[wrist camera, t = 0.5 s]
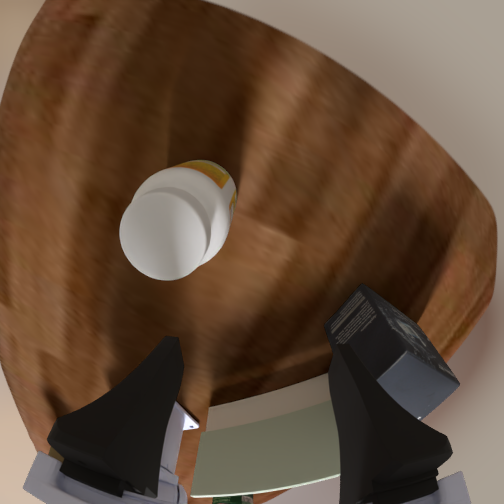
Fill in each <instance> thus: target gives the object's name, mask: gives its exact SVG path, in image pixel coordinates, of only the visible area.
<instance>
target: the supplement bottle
mask: <svg viewBox="0 0 504 504" xmlns="http://www.w3.org/2000/svg"><path fill="white" fill-rule="evenodd" d="M236 201H237V192H236V187H235V184H234V182H233V179H232V178H231V176H230V175H229V173H228V172H227V171H226V170H225V169H224V168H222V167H221V166H219V165H218V164H216V163H214V162H211V161H207V160H193V161H188V162H185V163H182V164H179V165H176V166H173V167H170V168H166V169H164V170H161V171H159V172H157V173H155V174H154V175H152V176H151V177H149V178H148V179H147V180H146V181H144V183H143V184H142V185H141V186H140V187H139V189H138V190H137V192H136V193H135V195H134V197H133V200H132V203H131V204H130V205H129V206H128V207H127V209H126V210H125V212H124V214H123V217H122V219H121V223H120V241H121V246H122V249H123V251H124V253H125V255H126V257H127V258H128V260H129V261H130V262H131V264H132V265H133V266H134V267H135V268H136V269H138V270H139V271H140V272H141V273H143V274H145V275H147V276H149V277H151V278H154V279H158V280H176V279H180V278H182V277H185V276H187V275H188V274H190V273H191V272H193V271H194V270H195V269H196V268H197V267H198V266H200V265H202V264H204V263H206V262H207V261H209V260H210V259H211V258H212V257H213V256H214V255H216V253H217V252H218V251H219V250H220V249H221V247H222V245H223V244H224V242H225V240H226V237H227V235H228V232H229V228H230V224H231V221H232V217H233V214H234V211H235V207H236Z"/></svg>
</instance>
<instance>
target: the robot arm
mask: <svg viewBox="0 0 504 504" xmlns="http://www.w3.org/2000/svg"><path fill="white" fill-rule="evenodd" d="M183 371H184V363H183V358H182V353H181V348H180V343H179V338H178V337H171V336H165V337H164V338H163V339H162V341H161V342H160V343H159V344H158V345H157V346H156V347H155V349H154V350H153V351H152V352H151V353H150V354H149V355H148V356H147V357H146V358H145V360H144V361H143V362H142V363H141V364H140V365H139V366H138V367H137V368H136V369H135V370H134V371H133V372H132V373H130V374H129V375H128V376H127V377H126V378H125V379H124V380H123V381H122V382H120V383H119V384H118V385H117V386H115V387H114V388H113V389H112V390H110V391H109V392H107V393H106V394H104V395H103V396H102V397H100V398H98V399H97V400H95V401H94V402H92V403H90V404H88V405H86V406H85V407H83V408H81V409H79V410H76V411H74V412H72V413H69V414H67V415H64V416H62V417H59V418H57V420H56V422H55V423H54V425H53V427H52V429H51V431H50V433H49V436H48V438H47V441H48V443H49V444H50V445H51V447H52V448H54V449H55V450H56V451H57V452H58V453H59V454H60V455H61V456H62V457H63V458H64V460H63V463H62V462H60V461H59V460H57V459H55V458H53V457H51V456H49V455H47V454H45V453H43V452H41V451H38V453H37V456H36V458H35V460H34V462H33V465H32V467H31V469H30V471H29V474H28V476H27V478H26V481H25V483H24V486H23V489H24V490H26V491H27V492H29V493H30V494H32V495H33V496H35V497H37V498H38V499H40V500H41V501H43V502H45V503H46V504H187V494H186V491H185V490H184V488H183V486H182V485H181V484H178V478H179V477H178V476H176V475H174V473H175V468H176V463H177V458H178V453H179V448H180V443H181V438H182V433H183V430H188V429H194V428H198V427H199V424H198V423H197V422H196V421H195V420H194V419H193V418H192V417H191V416H190V415H189V414H188V413H187V412H186V411H185V410H184V409H183V408H182V407H181V406H180V405H179V404H178V403H177V402H176V398H177V395H178V392H179V389H180V386H181V381H182V376H183ZM328 380H329V391H330V396H331V401H332V406H333V411H334V415H335V420H336V425H337V430H338V437H339V450H340V501H339V504H471V501H470V497H469V494H468V490H467V487H466V483H465V480H464V476H463V473H462V471H459V472H457V473H455V474H452V475H450V476H447V477H445V478H442V479H440V480H438V481H437V480H436V476H437V475H438V470H437V468H438V467H439V466H441V465H442V464H443V463H444V462H445V461H447V460H448V459H449V458H450V457H451V455H452V453H453V452H452V448H451V445H450V442H449V440H448V438H447V436H446V435H444V434H442V433H440V432H438V431H436V430H434V429H433V428H431V427H429V426H428V425H426V424H424V423H423V422H421V421H420V420H418V419H417V418H416V417H414V416H413V415H412V414H410V413H409V412H408V411H407V410H405V409H404V408H403V407H402V406H401V405H399V404H398V403H397V402H396V401H395V400H394V399H393V398H392V397H391V396H390V395H389V394H388V393H387V392H386V391H385V390H384V389H383V387H382V386H381V385H380V384H379V383H378V382H377V380H376V379H375V378H374V377H373V375H372V374H371V373H370V372H369V370H368V369H367V368H366V366H365V365H364V364H363V362H362V361H361V360H360V358H359V357H358V355H357V354H356V353H355V351H354V350H353V348H352V347H351V345H350V344H336V347H335V351H334V354H333V357H332V361H331V364H330V368H329V371H328Z"/></svg>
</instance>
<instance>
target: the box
mask: <svg viewBox="0 0 504 504" xmlns="http://www.w3.org/2000/svg"><path fill="white" fill-rule="evenodd" d="M324 328H325V331H326V334H327V337H328V340H329V342H330V345H331V348H332V352H333V354H334V351H335V347H336V344H350V345H351V347H352V348H353V350H354V351H355V353H356V354H357V355H358V357H359V358H360V360H361V361H362V362H363V364H364V365H365V366H366V368H367V369H368V370H369V372H370V373H371V374H372V375H373V377H374V378H375V379H376V380H377V382H378V383H379V384H380V385H381V386H382V387H383V389H384V390H385V391H386V392H387V393H388V394H389V395H390V396H391V397H392V398H393V399H394V400H395V401H396V402H397V403H398V404H399V405H401V406H402V407H403V408H404V409H405V410H407V411H408V412H409V413H410V414H412V415H413V416H414V417H416V418H417V419H418V420H420V421H421V420H422V419H423V418H424V417H426V416H427V415H428V414H429V413H430V412H432V411H433V410H434V409H435V408H436V407H437V406H439V405H440V404H441V403H442V402H443V401H444V400H445V399H446V398H447V397H448V396H450V395H451V394H452V393H453V392H454V391H455V390H456V389H457V388H458V387H459V385H460V383H459V381H458V380H457V378H456V377H455V375H454V374H453V372H452V371H451V369H450V368H449V367H448V365H447V364H446V363H445V361H444V360H443V358H442V357H441V356H440V354H439V353H438V351H437V350H436V349H435V347H434V346H433V344H432V343H431V341H430V340H429V339H428V337H427V336H426V335H425V333H424V332H423V331H422V329H421V328H420V327H419V326H418V325H417V324H416V323H415V322H414V321H412V320H411V319H410V318H408V317H407V316H406V315H404V314H403V313H402V312H401V311H399V310H398V309H397V308H395V307H394V306H393V305H391V304H390V303H389V302H387V301H386V300H385V299H383V298H382V297H381V296H379V295H378V294H377V293H375V292H374V291H373V290H371V289H370V288H369V287H367V286H366V285H365V284H361V285H360V286H359V287H358V288H357V289H356V290H355V291H354V293H353V294H352V295H351V296H350V297H349V298H348V300H347V301H346V302H345V303H344V304H343V305H342V306H341V308H340V309H339V310H338V311H337V312H336V313H335V314H334V315H333V316H332V317H331V318H330V319H329V320H328V321H327V322H326V323H325V325H324Z"/></svg>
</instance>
